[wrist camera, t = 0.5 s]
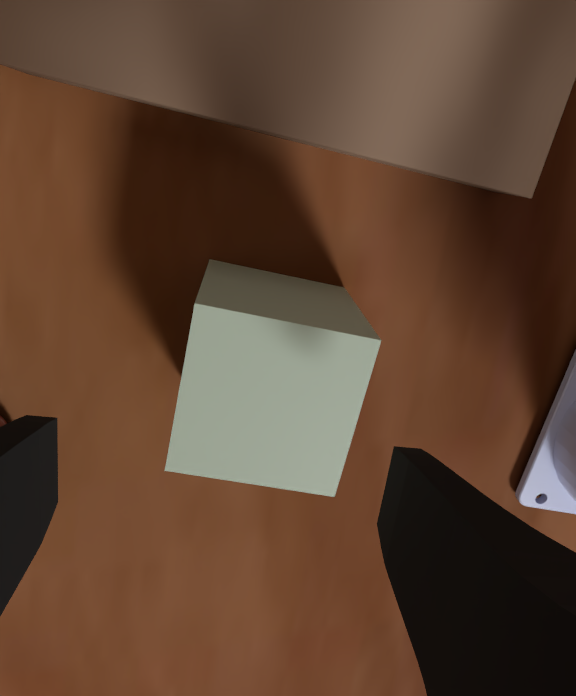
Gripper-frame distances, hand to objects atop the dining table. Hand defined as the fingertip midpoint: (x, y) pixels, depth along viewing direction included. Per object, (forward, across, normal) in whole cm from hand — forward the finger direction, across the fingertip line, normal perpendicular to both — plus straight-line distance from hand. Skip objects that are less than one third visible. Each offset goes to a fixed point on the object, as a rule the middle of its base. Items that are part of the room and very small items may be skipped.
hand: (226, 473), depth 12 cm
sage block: (+9, -1, 0) cm, 9 cm away
